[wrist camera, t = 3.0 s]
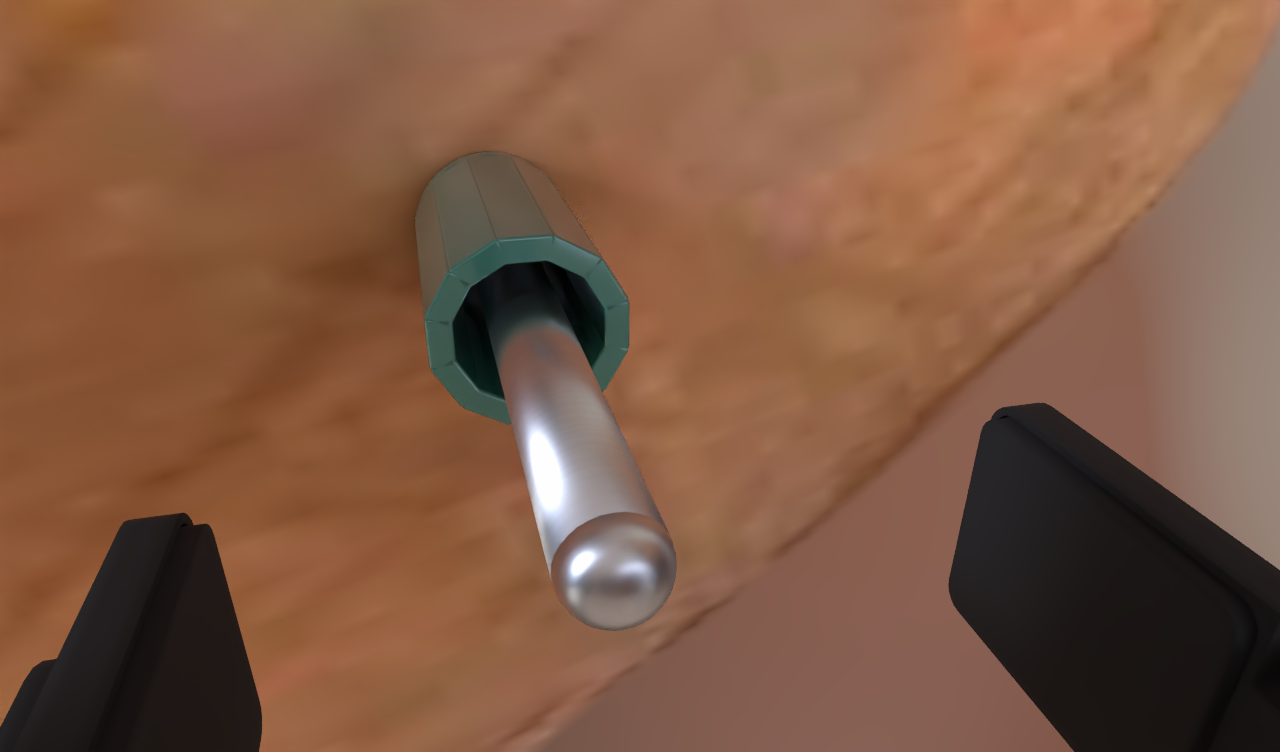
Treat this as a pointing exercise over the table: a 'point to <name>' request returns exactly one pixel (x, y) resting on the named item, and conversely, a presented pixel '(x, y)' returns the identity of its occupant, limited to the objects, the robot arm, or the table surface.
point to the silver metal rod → (575, 459)
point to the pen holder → (487, 240)
